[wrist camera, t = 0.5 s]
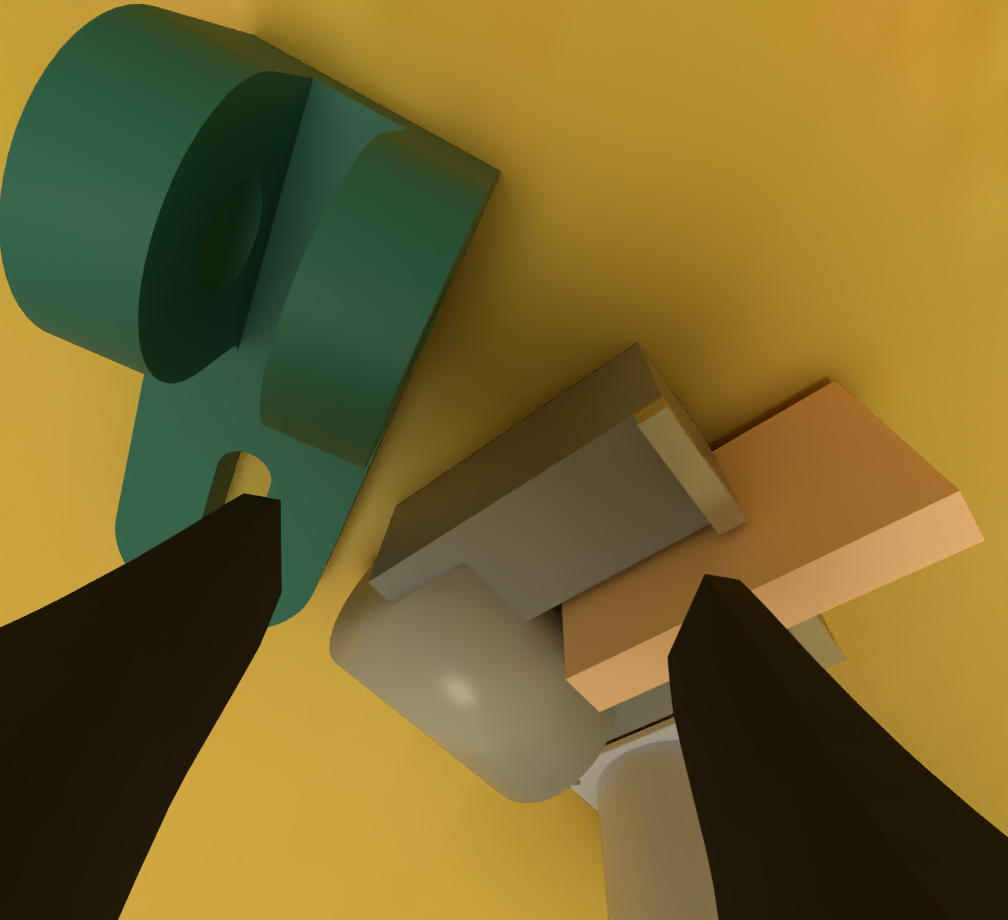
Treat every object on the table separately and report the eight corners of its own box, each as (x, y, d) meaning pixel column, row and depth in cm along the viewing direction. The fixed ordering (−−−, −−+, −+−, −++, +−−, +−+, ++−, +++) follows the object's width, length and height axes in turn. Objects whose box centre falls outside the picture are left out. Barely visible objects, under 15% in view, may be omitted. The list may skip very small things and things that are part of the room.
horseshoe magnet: (637, 342, 18) (679, 434, 13) (789, 559, 22) (869, 699, 16) (337, 546, 22) (276, 676, 17) (506, 697, 26) (498, 841, 21)
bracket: (255, 35, 15) (12, -35, 8) (501, 170, 16) (474, 210, 9) (139, 547, 23) (-28, 727, 16) (306, 610, 24) (216, 802, 18)
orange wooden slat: (835, 380, 18) (960, 490, 12) (857, 419, 18) (984, 540, 13) (558, 540, 21) (565, 679, 16) (584, 568, 22) (599, 712, 16)
